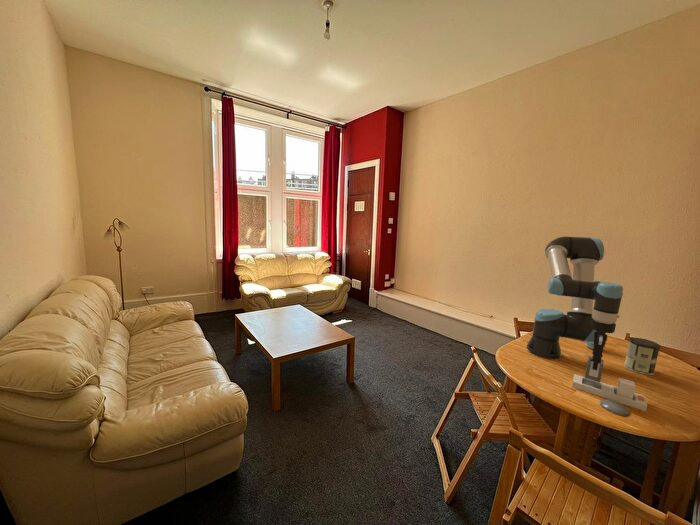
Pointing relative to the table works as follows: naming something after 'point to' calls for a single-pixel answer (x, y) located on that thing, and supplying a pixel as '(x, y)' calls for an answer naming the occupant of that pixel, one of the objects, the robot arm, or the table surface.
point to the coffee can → (642, 356)
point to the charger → (589, 370)
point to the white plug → (625, 388)
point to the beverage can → (590, 344)
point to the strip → (608, 392)
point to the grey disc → (614, 407)
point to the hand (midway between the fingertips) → (593, 373)
